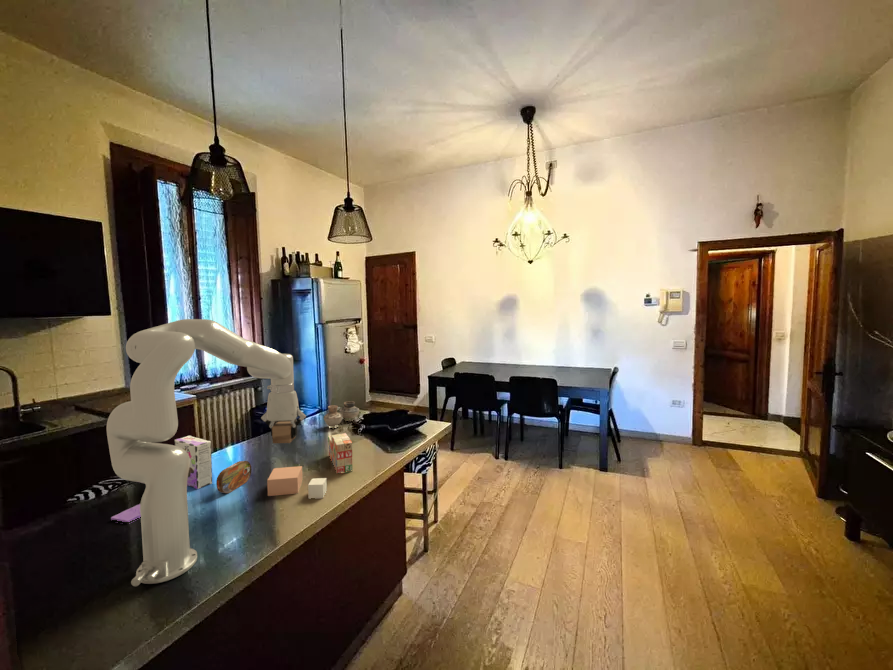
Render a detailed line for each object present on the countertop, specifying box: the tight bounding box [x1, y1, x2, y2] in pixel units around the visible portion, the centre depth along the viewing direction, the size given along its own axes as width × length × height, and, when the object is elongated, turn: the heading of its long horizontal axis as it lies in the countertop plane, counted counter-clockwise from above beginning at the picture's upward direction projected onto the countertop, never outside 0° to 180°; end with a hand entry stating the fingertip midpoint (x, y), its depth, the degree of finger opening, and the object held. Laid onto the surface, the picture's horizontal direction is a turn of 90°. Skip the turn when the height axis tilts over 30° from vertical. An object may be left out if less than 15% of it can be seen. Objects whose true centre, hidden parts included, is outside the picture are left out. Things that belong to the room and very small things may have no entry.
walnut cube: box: [271, 421, 297, 444], centre depth 139 cm, size 6×6×6 cm
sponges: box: [110, 503, 141, 522], centre depth 124 cm, size 7×13×2 cm, turn 164°
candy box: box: [174, 435, 213, 490], centre depth 145 cm, size 14×6×16 cm, turn 62°
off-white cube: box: [307, 477, 328, 500], centre depth 135 cm, size 5×5×5 cm
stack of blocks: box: [327, 432, 353, 474], centre depth 163 cm, size 21×6×12 cm, turn 26°
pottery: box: [323, 400, 360, 426], centre depth 218 cm, size 11×25×12 cm, turn 158°
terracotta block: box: [266, 465, 304, 497], centre depth 141 cm, size 10×10×6 cm
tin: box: [215, 460, 252, 494], centre depth 141 cm, size 15×3×8 cm, turn 168°
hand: (284, 437), depth 139 cm, fingers closed on walnut cube, 6 cm apart
